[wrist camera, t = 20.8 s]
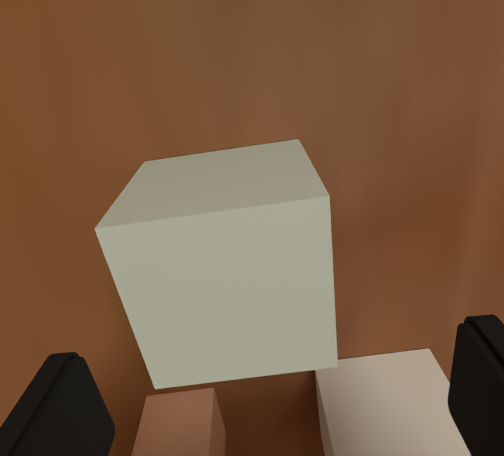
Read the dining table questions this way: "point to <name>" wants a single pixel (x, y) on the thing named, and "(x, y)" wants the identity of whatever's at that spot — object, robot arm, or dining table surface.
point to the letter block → (181, 425)
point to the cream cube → (387, 407)
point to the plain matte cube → (225, 264)
